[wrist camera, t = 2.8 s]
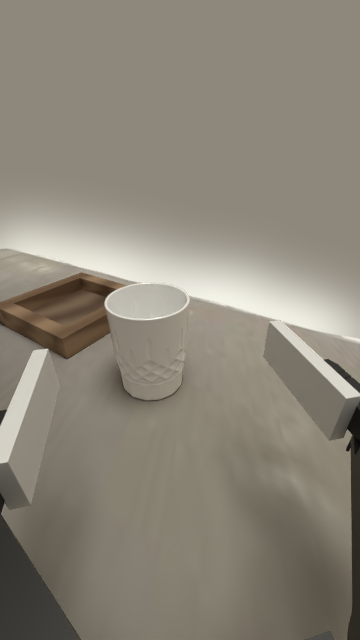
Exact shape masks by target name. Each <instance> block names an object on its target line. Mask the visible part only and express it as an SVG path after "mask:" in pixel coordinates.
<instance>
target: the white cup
mask: <svg viewBox="0 0 360 640" xmlns="http://www.w3.org/2000/svg"><path fill="white" fill-rule="evenodd" d="M189 301H190V299H189V296H188V294H187V293H186V292H185V291H184V290H182V289H180V288H178V287H176V286H173V285H169V284H164V283H138V284H133V285H128V286H125V287H122V288H119V289H117V290H115V291H113V292H112V293H111V294H109V295H108V296H107V298H106V299H105V302H104V305H105V310H106V314H107V319H108V324H109V328H110V333H111V338H112V342H113V347H114V352H115V356H116V360H117V364H118V367H119V369H120V372H121V376H122V381H123V386H124V389H125V390H126V391H127V392H128V393H129V394H130V395H131V396H133V397H135V398H139V399H142V400H160V399H163V398H165V397H167V396H170V395H172V394H173V393H174V392H175V391H176V390H177V389H178V388H179V387H180V386H181V383H182V378H183V367H184V362H185V353H186V344H187V329H188V314H189Z"/></svg>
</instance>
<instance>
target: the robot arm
mask: <svg viewBox="0 0 360 640" xmlns="http://www.w3.org/2000/svg"><path fill="white" fill-rule="evenodd" d="M263 357H264V358H265V359H266V361H267V362H268V363H269V365H270V366H271V367H272V368H273V370H274V371H275V372H276V373H277V375H278V376H279V377H280V379H281V380H282V381H283V382H284V384H285V385H286V386H287V387H288V389H289V390H290V391H291V393H292V394H293V395H294V396H295V398H296V399H297V400H298V402H299V403H300V404H301V405H302V407H303V408H304V409H305V410H306V412H307V413H308V414H309V416H310V417H311V418H312V419H313V421H314V422H315V423H316V424H317V426H318V427H319V428H320V430H321V431H322V432H323V433H324V435H325V436H326V437H327V439H328V440H329V441H330V440H335V439H339V438H343V437H344V435H345V433H346V431H347V429H348V430H349V431H350V432H351V434H352V438H351V440H350V442H349V444H348V446H347V449H346V451H348V452H349V450H350V448H351V512H352V601H353V603H352V614H351V618H350V622H349V627H348V638H347V640H360V384H359V383H358V382H357V381H356V380H355V379H354V378H352V377H351V376H350V375H349V374H348V373H347V372H345V370H344V369H342V368H341V367H340V366H339V365H338V364H336V363H334V362H332V361H331V360H329V359H325V360H323V359H322V358H321V357H320V356H319V355H318V354H317V353H315V352H314V351H313V350H312V349H311V348H310V347H309V346H308V345H307V344H306V343H305V342H304V341H303V340H301V339H300V338H299V337H298V336H297V335H296V334H295V333H294V332H293V331H292V330H291V329H290V328H288V327H287V326H286V325H285V324H284V323H283V322H282V321H281V320H278V321H270V322H269V327H268V333H267V338H266V344H265V350H264V355H263ZM59 388H60V385H59V382H58V378H57V375H56V372H55V369H54V365H53V362H52V359H51V356H50V353H49V349H41V350H33V352H32V354H31V357H30V359H29V361H28V364H27V366H26V368H25V370H24V373H23V375H22V377H21V380H20V382H19V384H18V387H17V389H16V391H15V393H14V396H13V398H12V400H11V403H10V405H9V407H8V409H7V410H2V411H0V640H81V639H80V637H79V636H78V634H77V633H76V631H75V629H74V628H73V626H72V625H71V623H70V622H69V620H68V618H67V617H66V615H65V614H64V612H63V611H62V609H61V607H60V606H59V604H58V603H57V601H56V600H55V598H54V597H53V595H52V593H51V592H50V590H49V589H48V587H47V586H46V584H45V582H44V581H43V579H42V578H41V576H40V575H39V573H38V572H37V570H36V568H35V567H34V565H33V564H32V562H31V561H30V559H29V557H28V556H27V554H26V553H25V551H24V550H23V548H22V547H21V545H20V543H19V542H18V540H17V539H16V537H15V536H14V534H13V532H12V531H11V529H10V528H9V526H8V525H7V523H6V522H5V520H4V518H3V517H2V515H1V512H2V509H3V505H4V502H5V504H6V505H7V507H8V508H9V510H11V509H15V508H20V507H25V506H29V505H31V503H32V499H33V495H34V491H35V486H36V482H37V478H38V474H39V470H40V466H41V462H42V458H43V454H44V450H45V445H46V441H47V437H48V433H49V429H50V425H51V421H52V417H53V413H54V409H55V404H56V400H57V396H58V392H59ZM306 640H334V638H333V636H332V634H331V632H330V631H328V632H326V633H323V634H320V635H317V636H314V637H312V638H309V639H306Z"/></svg>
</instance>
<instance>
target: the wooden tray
mask: <svg viewBox="0 0 360 640" xmlns="http://www.w3.org/2000/svg"><path fill="white" fill-rule="evenodd" d="M125 286H127V285H123V284H120V283H116V282H113V281H109V280H106V279H102V278H99V277H95V276H92V275H88V274H85V273H79V274H76V275H73V276H70V277H68V278H65V279H62V280H60V281H57V282H54V283H51V284H49V285H46V286H43V287H41V288H38V289H35V290H32V291H30V292H27V293H24V294H22V295H19V296H16V297H13V298H11V299H8V300H5V301H3V302H0V323H1V324H3V325H5V326H7V327H8V328H10V329H12V330H14V331H16V332H18V333H20V334H22V335H23V336H25V337H27V338H29V339H31V340H33V341H35V342H37V343H38V344H40V345H42V346H44V347H46V348H48V349H50V350H52V351H53V352H55V353H57V354H59V355H61V356H63V357H65V358H67V359H68V358H70V357H72V356H73V355H75V354H76V353H78V352H80V351H81V350H83V349H84V348H86V347H88V346H89V345H91V344H92V343H94V342H96V341H97V340H99V339H100V338H102V337H103V336H105V335H107V334H108V333H110V328H109V324H108V319H107V314H106V310H105V305H104V302H105V299H106V298H107V296H108V295H109V294H111V293H112V292H113V291H115V290H117V289H119V288H122V287H125Z"/></svg>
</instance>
